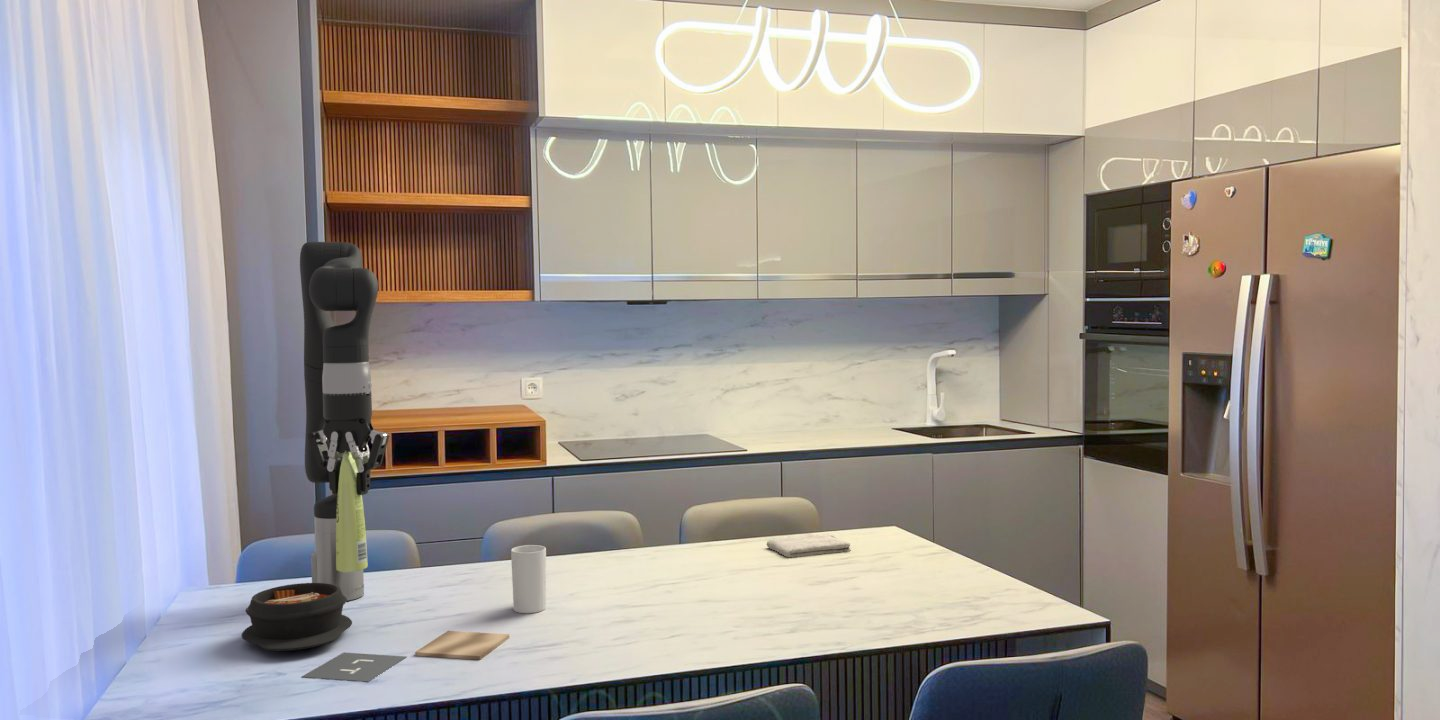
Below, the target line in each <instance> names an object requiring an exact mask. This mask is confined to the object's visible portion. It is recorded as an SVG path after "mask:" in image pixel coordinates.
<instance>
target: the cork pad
mask: <svg viewBox="0 0 1440 720" xmlns="http://www.w3.org/2000/svg"><path fill="white" fill-rule="evenodd" d="M509 637H511V636H510V634H509V633H494V632H492V633H491V632H477V631H476V632H474V631H463V630H462V631H459V630H447V631H445V632H443V634H442V633H441V635H439V636H438V637H436V638H435V639H432V641H430V642H428V643H427V644H426V645H424V646H422V647H421V648H419V649H418V650H416V651H414V656H416V657H417V656H419V657H435V658H447V659H448V658H449V659H464V660H465V659H466V660H477V661H478V660H479V661H480V660H481V659H482V660H483V658H484V657H486V656H487V655H489V654H490V653H491V652H493V651H494V650H495V649H497V647H499V646H500V645H502V644H503V643H504V642H505V640H506V641H507V640H508V639H510V638H509ZM493 649H494V650H493Z"/></svg>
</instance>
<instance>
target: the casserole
mask: <svg viewBox="0 0 1440 720" xmlns="http://www.w3.org/2000/svg"><path fill="white" fill-rule="evenodd" d="M346 602H347V598H346V597H345V596H344V595H343V594H342V591H341V589H340V588H339V587H338V586H336V585H332V584H326V583H312V582H305V583H304V582H300V583H293V584H286V585H281V586H276V587H272V588H268V589H265V590H262V591H259V592H257V593H256V594H254V595H253V596H252V597H251V600H250V603H249V605H248V606H247V607H246V608H245V614H247V616H248V617H249V618H250V622H251V623H250V624H251V625H250V626H248V627H247V628H245V629H244V630H243V632H241V635H240V637H241V639H243V640H244V641H245V642H248V643H251V644H253V645H257V646H259V647H260V648H262V649H264V650H266V651H271V652H277V651H278V652H281V651H282V652H283V651H285V652H286V651H294V650H296V651H297V650H304V649H310V648H315V647H319V646H324V645H327V644H330V643H333V642H335V641H337V640H338V639H339V637H340V636H341V635H342V633H344V632H345V631H346V630H347V629H349V628H350V627H352V625H353V621H352V619H351V618H350V617H349V616H346V615H345V614H343V609H344V605H345V604H346Z"/></svg>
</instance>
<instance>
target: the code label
mask: <svg viewBox="0 0 1440 720" xmlns="http://www.w3.org/2000/svg"><path fill="white" fill-rule="evenodd" d="M405 659H408V656H404V655H389V654H388V655H387V654H374V653H373V654H372V653H360V652H359V653H357V652H342V653H340V654H339V655H337V656H335V657H333V658H332V659H331V658H330V660H328V661H326V662H324V663H323V664H321V665H319V666H318V667H316V668H314V669H312V670H310V671H309V672H307V673H304V675H302V676H301V677H300V678H303V679H315V678H321V679H320V680H329V679H335V680H334V681H343V680H347V681H348V682H357V681H362V682H361V683H370V682H372V681H373V680H374V679H376V678H377V677H379V676H381V675H382V674H384V673H385V672H387V671H388V670H390V669H391V668H393V667H395V665H398V664H399V663H400V662H402V661H403V660H405ZM392 666H393V667H392ZM389 668H390V669H389ZM386 670H387V671H386ZM383 672H384V673H383ZM380 674H381V675H380ZM378 675H379V676H378ZM375 677H376V678H375ZM347 681H346V682H347Z"/></svg>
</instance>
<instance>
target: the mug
mask: <svg viewBox="0 0 1440 720" xmlns="http://www.w3.org/2000/svg"><path fill="white" fill-rule="evenodd" d="M510 551H511V552H510V555H511V557H510V558H511V559H510V560H511V578H512V579H511V580H512V581H511V582H512V600H513V601H512V602H513V603H512V604H513V611H514V612H516V613H519V614H536V613H539V612H543V611H544V610H545V609H546V608H547V548H546V547H545V546H543V545H540V544H539V545H538V544H537V545H535V544H526V545H525V544H524V545H519V546H515V547H512V548H511V550H510Z"/></svg>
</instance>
